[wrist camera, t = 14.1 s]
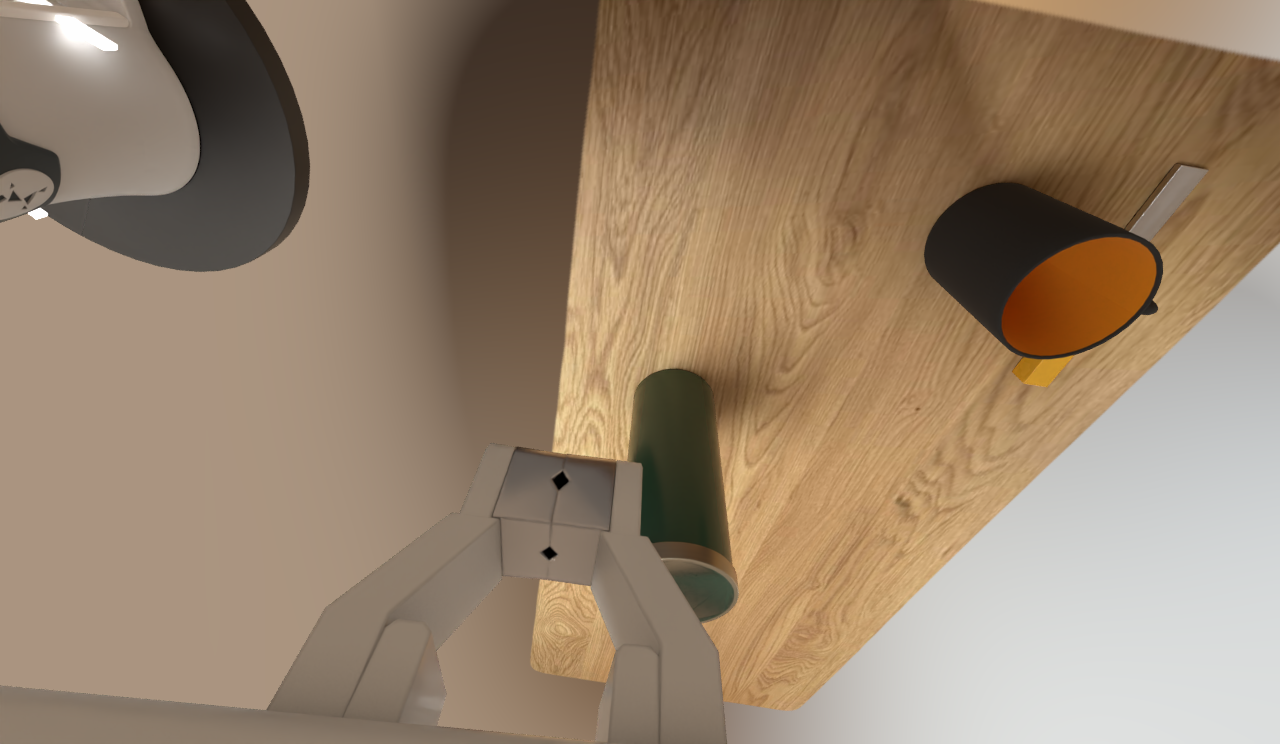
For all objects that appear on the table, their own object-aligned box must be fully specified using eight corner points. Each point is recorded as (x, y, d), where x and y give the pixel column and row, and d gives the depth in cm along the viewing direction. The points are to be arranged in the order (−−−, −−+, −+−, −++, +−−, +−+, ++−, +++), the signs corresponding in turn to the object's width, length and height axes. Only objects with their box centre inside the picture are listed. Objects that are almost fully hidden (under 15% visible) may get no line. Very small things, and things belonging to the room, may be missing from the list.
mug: (1037, 307, 39) (1138, 382, 30) (902, 276, 38) (968, 346, 29) (1118, 208, 34) (1264, 266, 26) (965, 170, 33) (1065, 217, 25)
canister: (614, 399, 47) (584, 590, 31) (675, 351, 43) (677, 541, 27) (671, 443, 50) (671, 637, 34) (733, 402, 47) (765, 599, 31)
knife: (1034, 375, 43) (1047, 387, 41) (1011, 371, 43) (1023, 383, 41) (1204, 168, 32) (1229, 175, 31) (1174, 163, 32) (1198, 169, 31)
